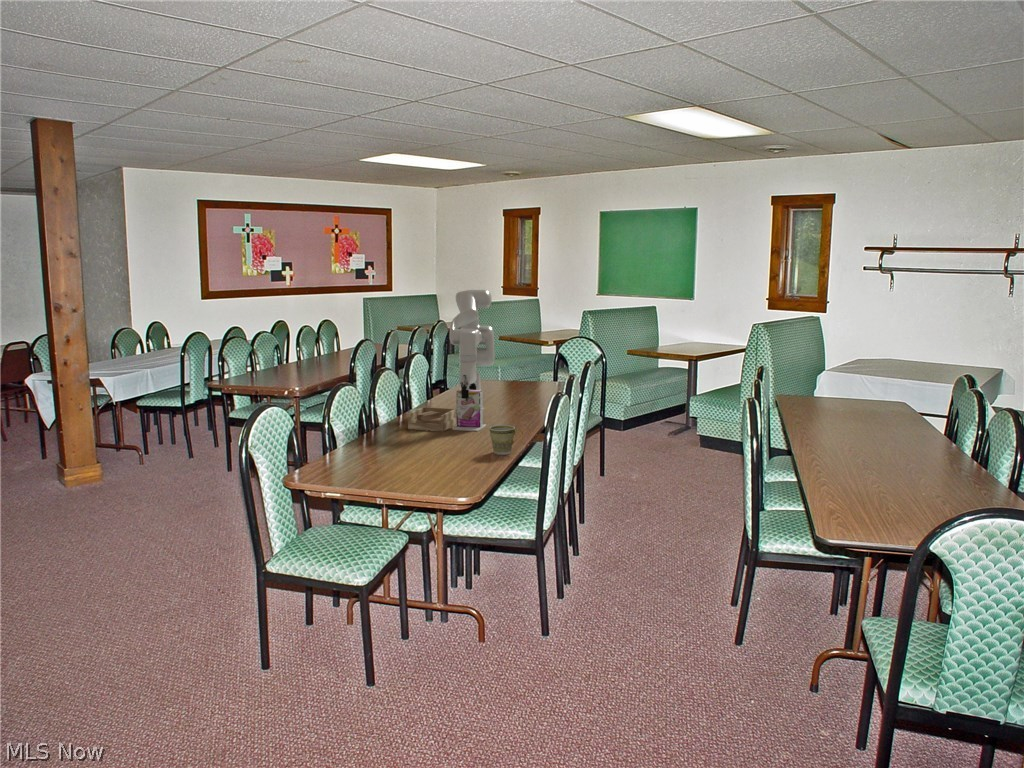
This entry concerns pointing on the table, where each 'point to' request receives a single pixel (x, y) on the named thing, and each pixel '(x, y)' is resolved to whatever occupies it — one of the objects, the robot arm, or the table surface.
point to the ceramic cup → (503, 438)
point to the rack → (447, 421)
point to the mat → (469, 428)
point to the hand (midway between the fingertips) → (469, 396)
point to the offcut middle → (430, 421)
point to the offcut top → (427, 416)
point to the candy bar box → (470, 409)
